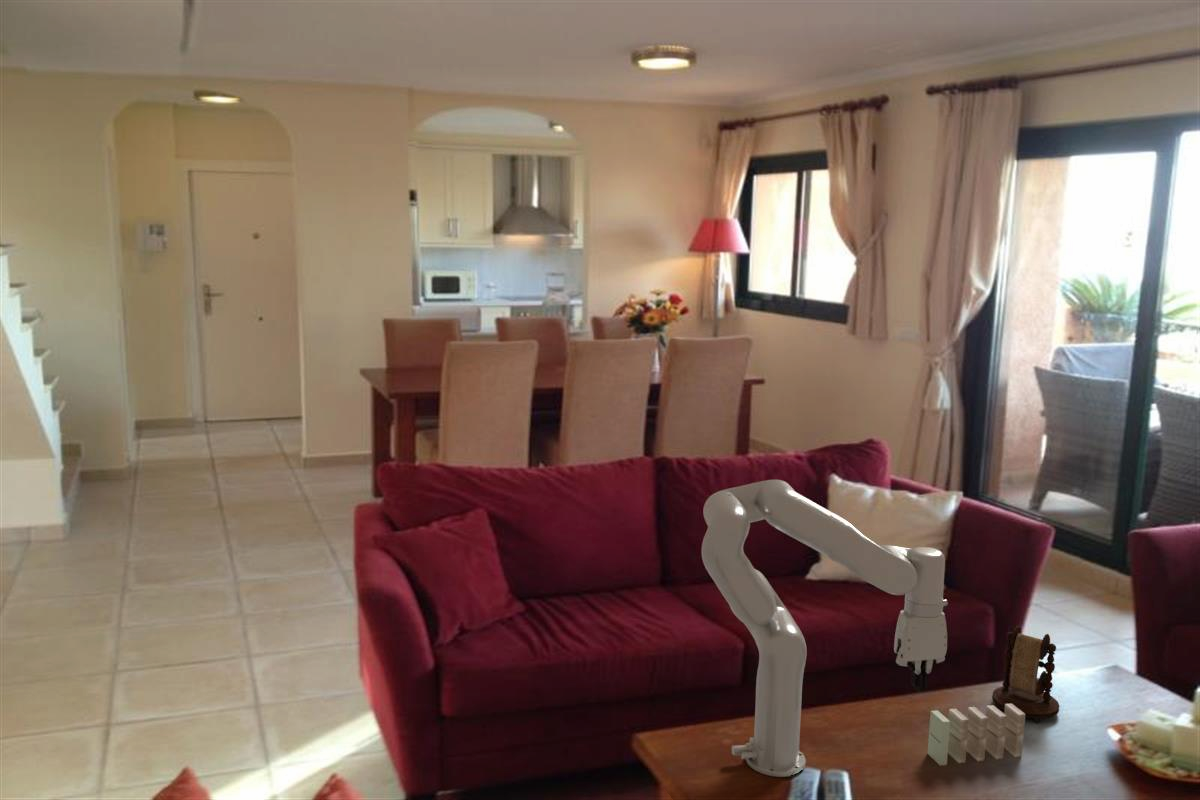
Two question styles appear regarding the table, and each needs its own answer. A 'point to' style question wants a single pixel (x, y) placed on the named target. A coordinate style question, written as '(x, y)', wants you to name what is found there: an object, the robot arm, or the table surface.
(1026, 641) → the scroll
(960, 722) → the domino
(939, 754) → the domino
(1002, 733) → the domino
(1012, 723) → the domino
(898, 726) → the table surface
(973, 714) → the domino
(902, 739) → the table surface
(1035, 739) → the table surface
